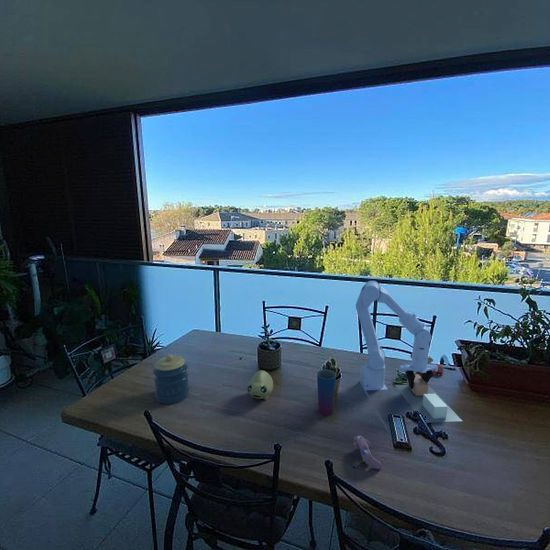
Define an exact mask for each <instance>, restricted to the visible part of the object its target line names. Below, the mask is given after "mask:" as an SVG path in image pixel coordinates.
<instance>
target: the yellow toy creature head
mask: <svg viewBox="0 0 550 550" xmlns="http://www.w3.org/2000/svg"><path fill="white" fill-rule="evenodd" d="M273 389H274V380H273V378H272V376H271V374H269V372H267V371H265V370H262V369H261V370H258V371H256V372H255V373H254V374H253V376H252V377H251V378H250V380H249V382H248V385H247V392H248V394H249V395H250V396H251V398H252V399H254V398H255V399H257V400H262V399H264V400H265V401H267V400H268V398H269V396H270V395H271V393H272V392H273Z"/></svg>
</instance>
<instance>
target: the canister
mask: <svg viewBox="0 0 550 550" xmlns="http://www.w3.org/2000/svg"><path fill="white" fill-rule="evenodd" d="M188 368H189V367H188V364H187V363H186V359H184V358H183V357H182V356H179V355H174V354H172V353H170V354H169V353H168V354H167V355H166V356H164V357H162V358H159V360H157V361H156V362H155V363H154V368H153V370H152V374H153V375H154V377H153V383H154V396H155V399H156V402H158V403H160V404H162V405H173V404H177V403H179V402H182V401H184V400H185V399H186V398H187V397H188V396H189V393H190V386H189V372H188V371H187V369H188Z"/></svg>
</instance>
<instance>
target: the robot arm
mask: <svg viewBox="0 0 550 550" xmlns="http://www.w3.org/2000/svg"><path fill="white" fill-rule="evenodd" d="M375 301H376V302H377V303H378V304H379V303H381V304H385V305H386V306H387V307H388V308H389V309H390V310H391V311H392V312H393V313H394V314H396V315H397V317H398V322H399V323H400V324H401V325H402V327H404V328H405V329H406V330H407V331H408V332H409V334H411V335H412V336H414V337H413V344H412V352H411V353H412V358H411V363H407V364H403V365H399V371H400V372H401V373H405V374H406V375H405V376H406V378H408V383H409V387H410V388H411V389H413V385H414V379H415V377H416V376H415V375H416V374H415V373H414V372H418V373H419V372H421V373H422V375H421V378H422V379H423V380H424V381H425V382H426V383H427V384H428V383H429V381H430V380H431V379H432V378H433V376H434V375H433V373H432V371H438V366H437V365H435V364H431V363H430V364H427V363H428V357H429V353H430V351H429V350H430V342H431V341H432V335H431V332H430V329H429V328H428V325H426V324H425V323H424V322H421V321H420V319H419V318H417V314H416V313H415V312H411V311H410V310H409V311H408V310H405V309H404V308H403V307H402V306H401V305H400V304H399V303H398V301H397V300H396V299H395V298H394V297H393V296H392V295H391V294H390V292H389V291H387V290H386V289H385V288H384V287H383V286H382V285H380V284H379V282H377V281H376V280H369V281H367V282H366V283H365V284H364V285H363V286H362V287H361V290H360V293H359V295H358V298H357V300H356V303H355V309H356V312H357V315H358V316H357V317H358V319H359V322H360V326H361V330H362V333H363V336H364V340H365V344H366V350H367V355H368V360H367V363H366V364H364V365H361V366H360V373H359V383H360V385H361V386H362V387H361V388H363V390H364V391H365V392H367V391H382V390H383V391H387V390H388V387H387V386H386V384H385V375H386V364H385V357H386V354H385V350H384V349H383V348H382V346H381V343H380V342H379V340H378V336H377V333H376V329H375V326H374V322H373V318H372V315H371V311H370V308H369V307H370V306H371V304H372V303H374V302H375Z"/></svg>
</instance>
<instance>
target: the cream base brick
mask: <svg viewBox="0 0 550 550" xmlns="http://www.w3.org/2000/svg"><path fill="white" fill-rule="evenodd" d="M439 397H440V396H439ZM439 397H438V396H437V395H436V394H423V404H422V405H423V406H424V407H425V409H426V410H427V411H428V412H429V413H430V415H431V416H432V417H433V418H446V415H447V405H448V404H447V403H446V402H445V401H444V400H443V399H442V398H441V397H440V398H441V399H442V400H443V401H444V402H445V403H446V404H447V405H446V404H445V403H444V402H443V401H442V400H441V399H440V398H439Z"/></svg>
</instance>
